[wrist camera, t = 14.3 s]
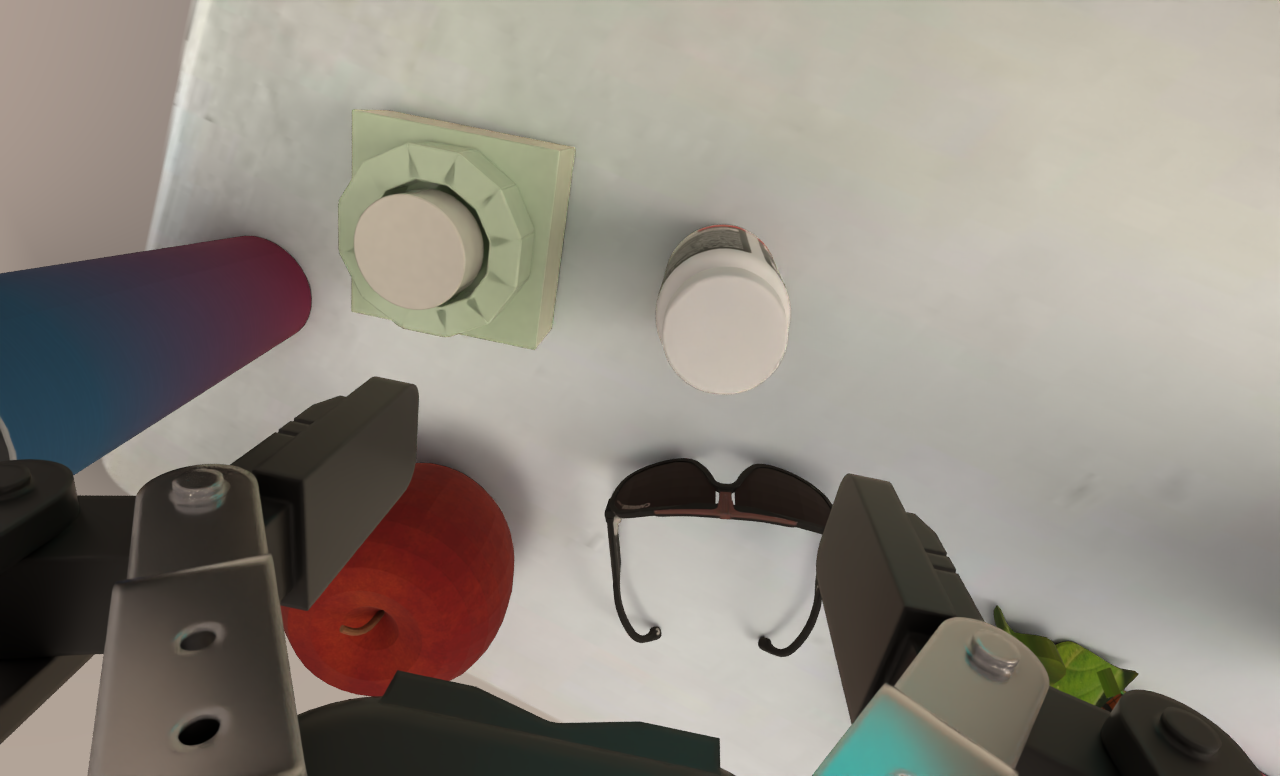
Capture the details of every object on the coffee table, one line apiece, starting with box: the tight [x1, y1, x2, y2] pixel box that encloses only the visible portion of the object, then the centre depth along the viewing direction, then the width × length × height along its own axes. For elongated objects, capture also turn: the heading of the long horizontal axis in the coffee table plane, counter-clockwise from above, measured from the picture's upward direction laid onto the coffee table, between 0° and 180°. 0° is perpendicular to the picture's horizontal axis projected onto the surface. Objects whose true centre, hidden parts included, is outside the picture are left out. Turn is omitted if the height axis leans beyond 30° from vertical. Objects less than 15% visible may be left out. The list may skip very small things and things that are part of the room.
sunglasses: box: [605, 458, 833, 657], centre depth 32 cm, size 10×12×5 cm
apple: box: [280, 463, 514, 696], centre depth 30 cm, size 10×10×10 cm
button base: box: [338, 109, 575, 350], centre depth 26 cm, size 8×8×5 cm
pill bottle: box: [656, 224, 791, 395], centre depth 24 cm, size 5×5×8 cm
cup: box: [0, 236, 311, 475], centre depth 24 cm, size 7×7×15 cm
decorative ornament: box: [994, 606, 1138, 708], centre depth 35 cm, size 15×5×10 cm
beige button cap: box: [354, 188, 484, 310], centre depth 23 cm, size 4×4×2 cm
